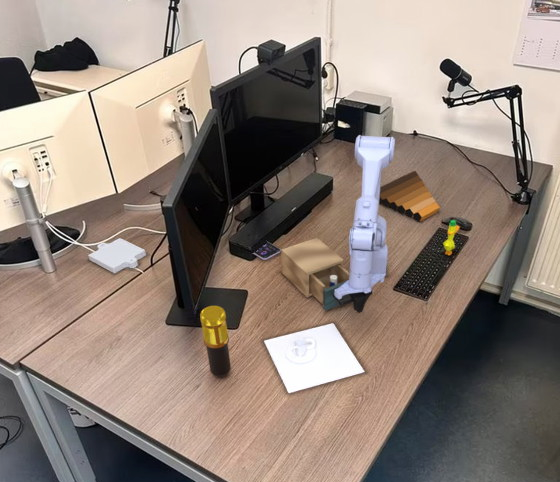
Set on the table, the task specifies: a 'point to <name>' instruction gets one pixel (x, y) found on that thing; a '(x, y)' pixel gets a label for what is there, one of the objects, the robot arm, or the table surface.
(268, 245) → the smartphone
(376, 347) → the table surface
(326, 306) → the drawer
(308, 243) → the cabinet
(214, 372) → the gold capped bottle
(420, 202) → the pan flute
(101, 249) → the mounting plate
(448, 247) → the toy figure
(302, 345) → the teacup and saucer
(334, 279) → the pen
